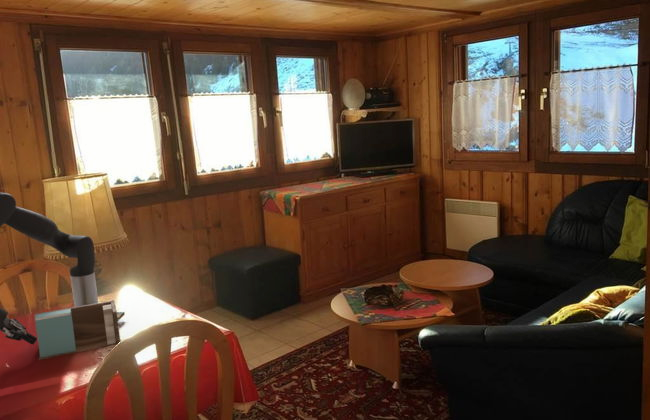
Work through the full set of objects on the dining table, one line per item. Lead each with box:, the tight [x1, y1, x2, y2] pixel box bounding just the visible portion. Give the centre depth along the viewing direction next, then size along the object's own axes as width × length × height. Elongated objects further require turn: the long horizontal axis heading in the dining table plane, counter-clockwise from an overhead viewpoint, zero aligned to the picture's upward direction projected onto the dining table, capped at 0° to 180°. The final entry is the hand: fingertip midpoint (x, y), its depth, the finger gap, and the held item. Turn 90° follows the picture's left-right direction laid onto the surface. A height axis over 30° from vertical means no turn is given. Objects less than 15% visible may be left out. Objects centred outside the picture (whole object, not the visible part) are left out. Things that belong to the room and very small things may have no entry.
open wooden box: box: [35, 299, 121, 361], centre depth 195 cm, size 13×26×14 cm, turn 114°
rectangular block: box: [34, 308, 76, 358], centre depth 190 cm, size 4×11×14 cm, turn 114°
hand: (35, 341), depth 187 cm, fingers closed
